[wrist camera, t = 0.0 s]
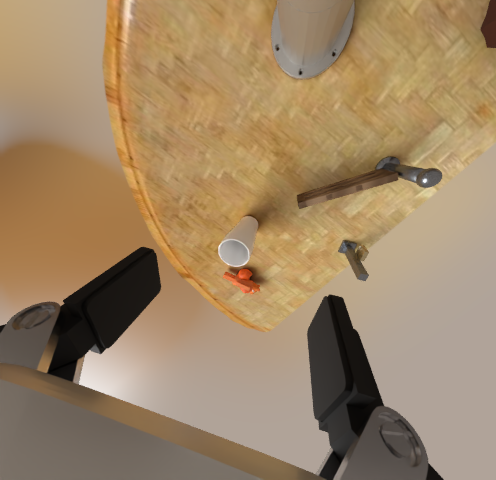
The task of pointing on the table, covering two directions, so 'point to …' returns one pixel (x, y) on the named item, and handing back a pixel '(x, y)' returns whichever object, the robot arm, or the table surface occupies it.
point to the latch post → (355, 258)
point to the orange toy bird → (243, 281)
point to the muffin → (490, 25)
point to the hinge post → (411, 172)
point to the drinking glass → (239, 242)
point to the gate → (346, 187)
